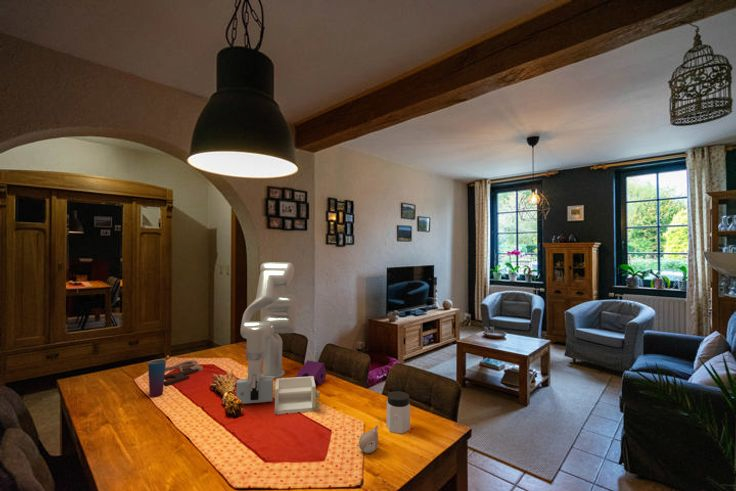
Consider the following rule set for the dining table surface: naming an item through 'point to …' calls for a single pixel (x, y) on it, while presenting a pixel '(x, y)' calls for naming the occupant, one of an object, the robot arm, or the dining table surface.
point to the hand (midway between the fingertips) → (254, 397)
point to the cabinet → (296, 395)
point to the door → (264, 389)
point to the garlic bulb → (369, 441)
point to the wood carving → (182, 372)
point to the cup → (156, 377)
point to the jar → (398, 412)
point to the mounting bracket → (313, 371)
